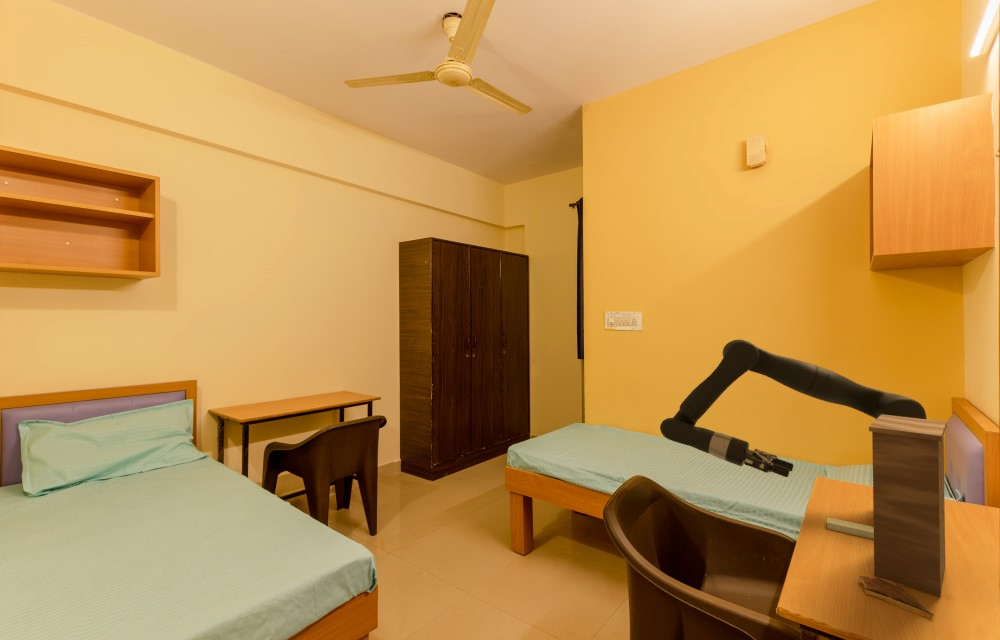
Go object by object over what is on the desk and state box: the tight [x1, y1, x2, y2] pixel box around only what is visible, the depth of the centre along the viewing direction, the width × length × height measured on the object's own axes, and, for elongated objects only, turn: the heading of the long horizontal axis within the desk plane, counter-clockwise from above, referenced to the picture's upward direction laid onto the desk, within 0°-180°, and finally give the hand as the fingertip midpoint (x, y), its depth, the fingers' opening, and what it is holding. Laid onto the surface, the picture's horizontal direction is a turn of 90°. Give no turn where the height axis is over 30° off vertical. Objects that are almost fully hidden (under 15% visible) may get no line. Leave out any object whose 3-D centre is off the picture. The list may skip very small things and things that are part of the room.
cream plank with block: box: [826, 516, 874, 540], centre depth 110 cm, size 4×20×4 cm, turn 51°
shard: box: [857, 575, 935, 619], centre depth 86 cm, size 11×8×2 cm
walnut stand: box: [868, 414, 948, 598], centre depth 95 cm, size 17×11×32 cm, turn 132°
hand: (790, 470), depth 122 cm, fingers open, 8 cm apart
